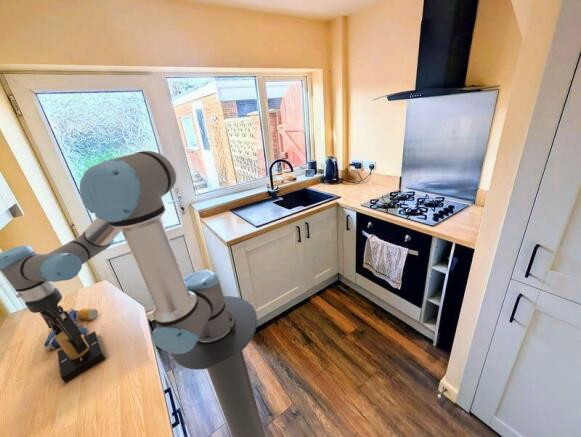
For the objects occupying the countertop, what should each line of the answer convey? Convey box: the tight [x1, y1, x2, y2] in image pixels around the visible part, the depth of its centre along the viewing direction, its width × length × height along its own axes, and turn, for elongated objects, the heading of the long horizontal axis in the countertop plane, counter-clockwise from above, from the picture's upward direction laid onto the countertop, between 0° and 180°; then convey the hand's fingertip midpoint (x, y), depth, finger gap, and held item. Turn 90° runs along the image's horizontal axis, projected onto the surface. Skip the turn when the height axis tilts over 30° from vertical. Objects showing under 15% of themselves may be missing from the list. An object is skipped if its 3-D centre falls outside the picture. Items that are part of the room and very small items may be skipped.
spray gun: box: [44, 308, 99, 351], centre depth 98 cm, size 21×4×15 cm
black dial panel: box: [57, 330, 107, 384], centre depth 85 cm, size 14×11×3 cm
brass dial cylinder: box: [56, 331, 89, 360], centre depth 82 cm, size 6×6×9 cm
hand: (75, 346), depth 83 cm, fingers open, 8 cm apart
